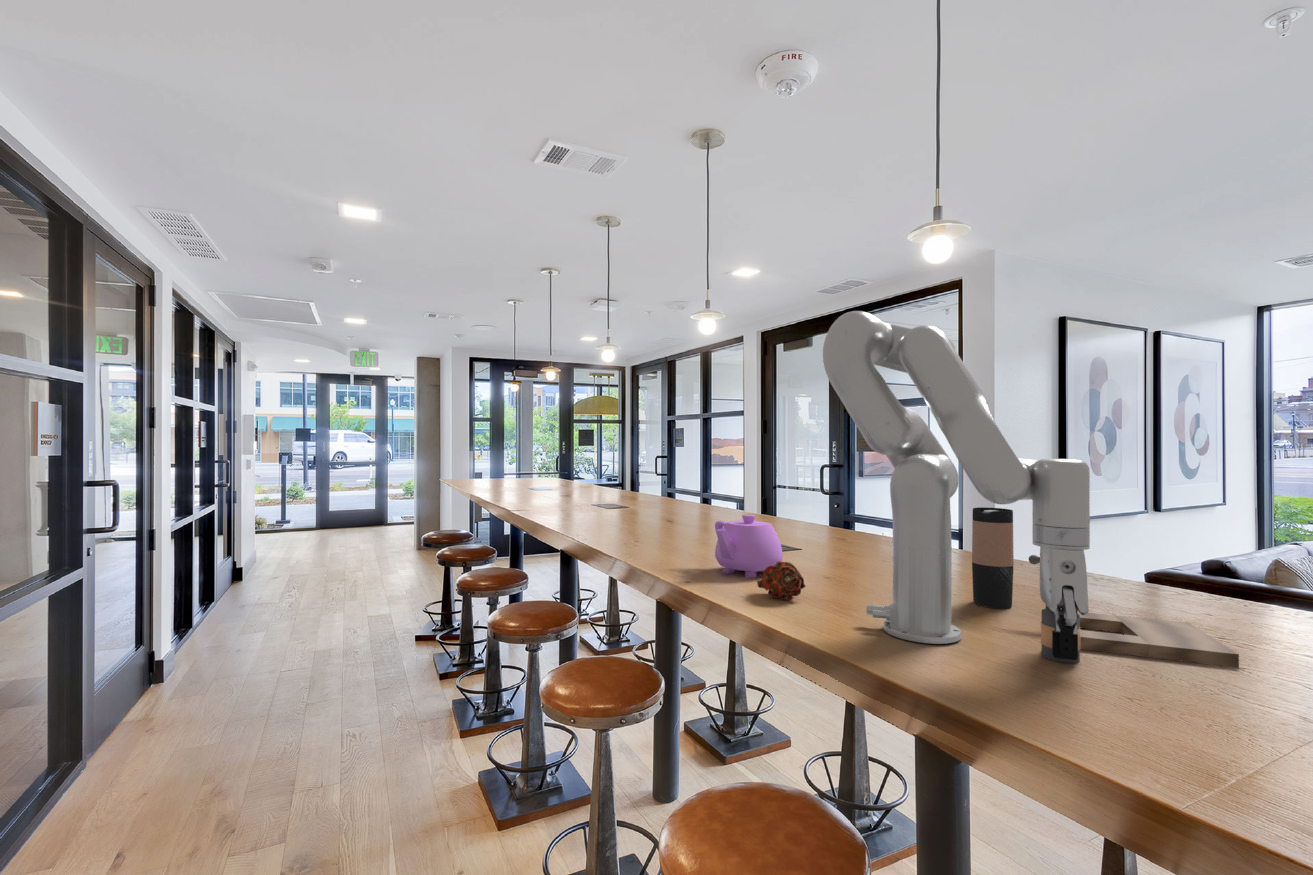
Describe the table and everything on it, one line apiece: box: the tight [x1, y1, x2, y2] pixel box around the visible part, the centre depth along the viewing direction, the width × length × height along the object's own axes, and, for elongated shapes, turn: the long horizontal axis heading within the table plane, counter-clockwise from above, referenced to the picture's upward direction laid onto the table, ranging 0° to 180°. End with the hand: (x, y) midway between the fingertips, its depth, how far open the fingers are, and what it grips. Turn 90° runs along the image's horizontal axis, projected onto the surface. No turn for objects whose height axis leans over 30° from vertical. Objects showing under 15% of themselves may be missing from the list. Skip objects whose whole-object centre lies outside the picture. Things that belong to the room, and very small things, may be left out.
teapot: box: [714, 514, 784, 579], centre depth 157 cm, size 20×20×15 cm
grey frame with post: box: [1028, 554, 1240, 669], centre depth 105 cm, size 25×18×14 cm
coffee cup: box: [1040, 608, 1082, 664], centre depth 95 cm, size 5×5×7 cm
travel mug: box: [971, 506, 1015, 610], centre depth 127 cm, size 8×8×20 cm
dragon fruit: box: [756, 561, 806, 601], centre depth 132 cm, size 8×8×12 cm
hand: (1060, 650), depth 95 cm, fingers closed on coffee cup, 5 cm apart
